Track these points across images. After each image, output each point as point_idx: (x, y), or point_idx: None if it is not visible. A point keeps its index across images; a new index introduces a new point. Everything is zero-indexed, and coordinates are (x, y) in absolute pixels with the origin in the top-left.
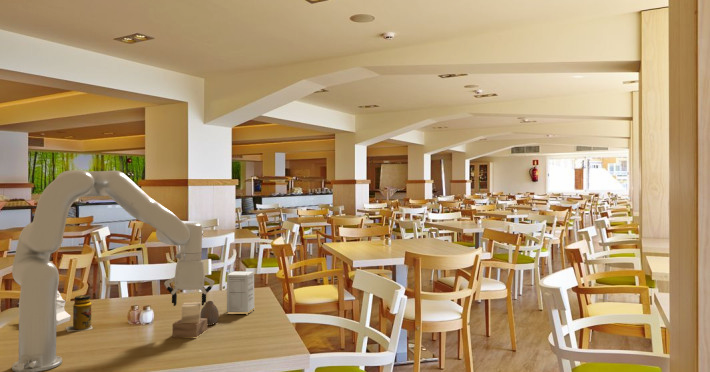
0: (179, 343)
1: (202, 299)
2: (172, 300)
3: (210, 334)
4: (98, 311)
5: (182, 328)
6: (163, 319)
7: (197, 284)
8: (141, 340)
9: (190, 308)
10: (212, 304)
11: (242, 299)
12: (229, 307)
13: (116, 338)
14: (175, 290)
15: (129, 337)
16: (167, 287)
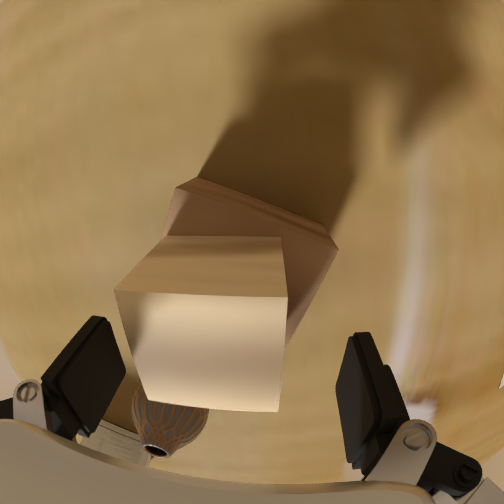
0: (277, 99)
1: (76, 348)
2: (389, 378)
3: (141, 234)
4: None
5: (272, 216)
6: (342, 436)
7: (7, 482)
8: (445, 204)
9: (200, 283)
10: (141, 433)
11: None
12: (139, 453)
13: (501, 256)
14: (394, 472)
15: (473, 260)
16: (481, 479)
